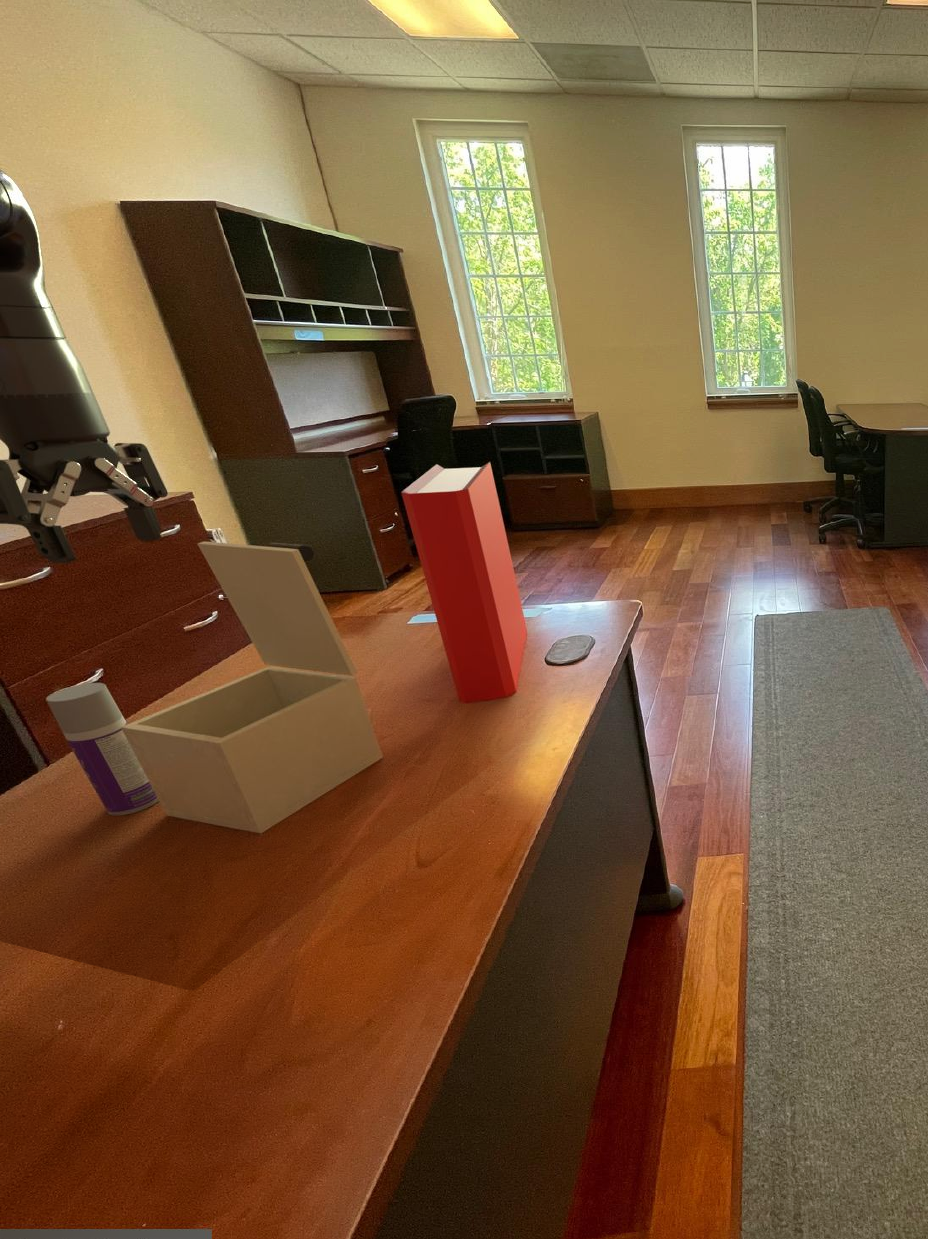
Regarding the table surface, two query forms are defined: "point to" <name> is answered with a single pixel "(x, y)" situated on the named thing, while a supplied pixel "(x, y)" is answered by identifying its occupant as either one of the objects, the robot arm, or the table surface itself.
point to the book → (469, 578)
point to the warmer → (255, 747)
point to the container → (102, 747)
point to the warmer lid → (279, 605)
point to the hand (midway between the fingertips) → (109, 550)
